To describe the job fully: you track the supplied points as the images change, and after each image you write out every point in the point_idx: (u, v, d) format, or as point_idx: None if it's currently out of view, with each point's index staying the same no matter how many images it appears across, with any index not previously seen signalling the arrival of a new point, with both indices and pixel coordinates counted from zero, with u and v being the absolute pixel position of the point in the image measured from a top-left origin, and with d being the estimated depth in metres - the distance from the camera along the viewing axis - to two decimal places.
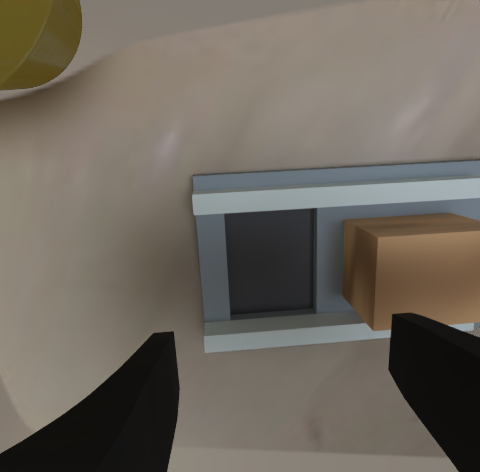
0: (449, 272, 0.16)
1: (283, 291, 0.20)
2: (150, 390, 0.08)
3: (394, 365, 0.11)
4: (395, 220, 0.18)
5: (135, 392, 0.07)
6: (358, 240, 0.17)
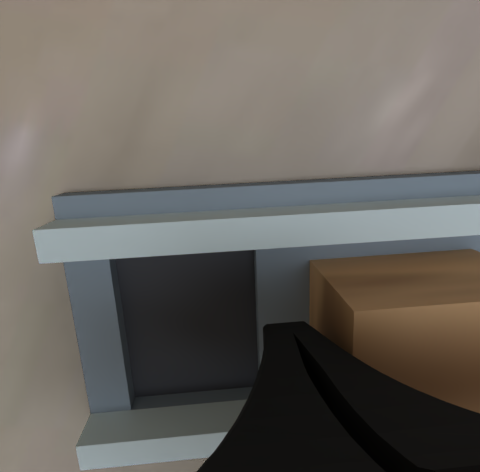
0: (479, 366, 0.09)
1: (213, 362, 0.14)
2: None
3: None
4: (387, 265, 0.11)
5: (304, 377, 0.07)
6: (327, 300, 0.10)
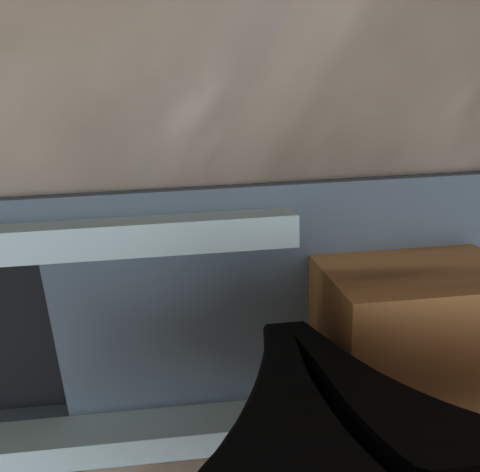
0: (478, 359, 0.09)
1: (24, 379, 0.13)
2: None
3: None
4: (387, 259, 0.11)
5: (305, 377, 0.07)
6: (326, 295, 0.10)
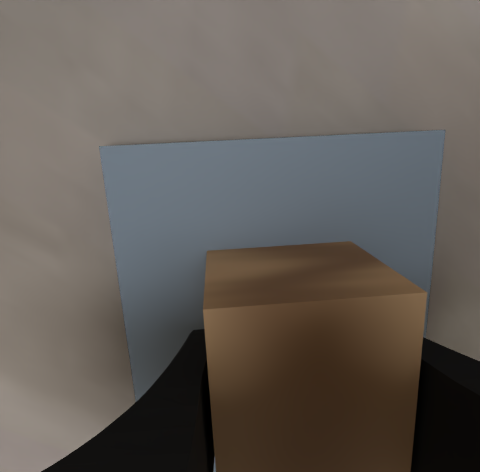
0: (299, 413, 0.07)
1: None
2: (204, 385, 0.08)
3: None
4: None
5: (195, 387, 0.07)
6: None
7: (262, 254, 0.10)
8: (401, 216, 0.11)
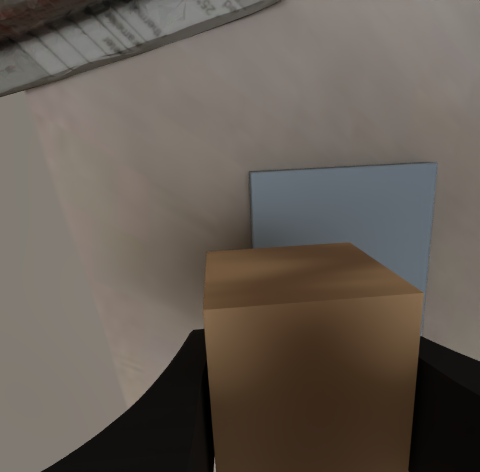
0: (297, 412, 0.08)
1: None
2: (204, 385, 0.08)
3: None
4: None
5: (194, 386, 0.07)
6: None
7: (261, 255, 0.10)
8: (413, 210, 0.19)
